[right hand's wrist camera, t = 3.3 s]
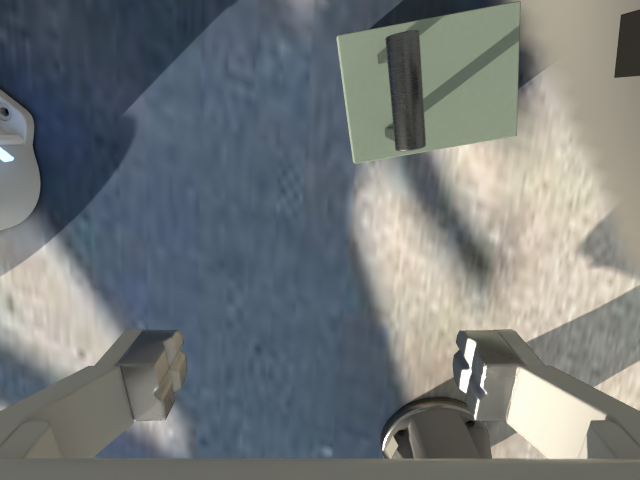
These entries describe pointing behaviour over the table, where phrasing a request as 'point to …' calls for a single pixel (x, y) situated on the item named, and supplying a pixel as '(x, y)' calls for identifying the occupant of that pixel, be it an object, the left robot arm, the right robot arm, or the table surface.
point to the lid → (432, 82)
